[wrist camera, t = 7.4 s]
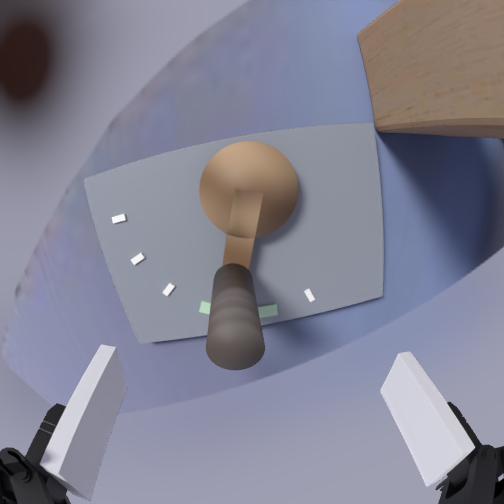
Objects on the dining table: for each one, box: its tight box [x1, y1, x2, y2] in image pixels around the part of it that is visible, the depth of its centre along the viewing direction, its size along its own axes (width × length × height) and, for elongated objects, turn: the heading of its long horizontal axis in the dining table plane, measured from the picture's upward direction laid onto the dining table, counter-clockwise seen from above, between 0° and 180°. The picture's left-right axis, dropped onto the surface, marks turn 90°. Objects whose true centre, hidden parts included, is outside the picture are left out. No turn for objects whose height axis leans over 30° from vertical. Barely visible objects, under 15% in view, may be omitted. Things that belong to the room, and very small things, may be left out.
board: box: [83, 123, 384, 344], centre depth 22 cm, size 24×16×2 cm, turn 100°
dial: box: [199, 141, 298, 370], centre depth 17 cm, size 15×7×9 cm, turn 170°
